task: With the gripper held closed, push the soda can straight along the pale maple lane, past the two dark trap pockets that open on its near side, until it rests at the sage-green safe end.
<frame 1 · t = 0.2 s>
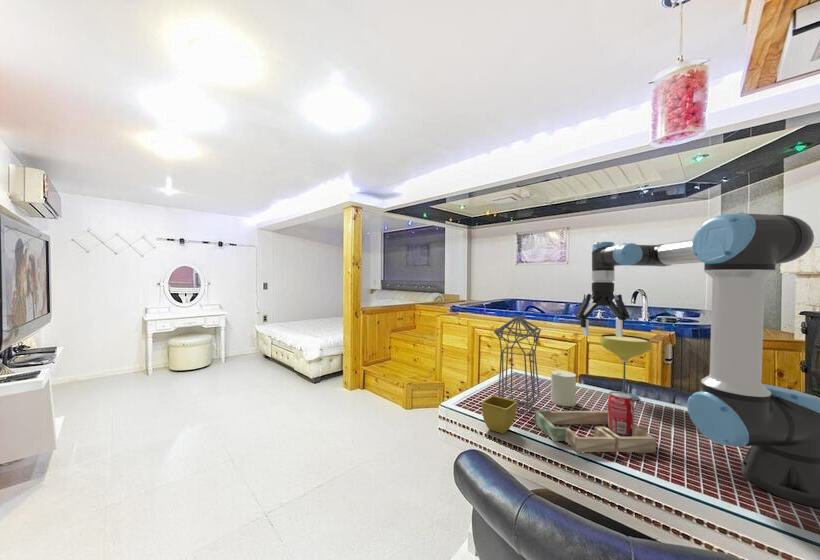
hand: (602, 336, 123), 27 cm above the table, tool pointing down, fingers open, 13 cm apart
soda can: (620, 432, 102), on the table
geometric lantern: (516, 407, 121), on the table
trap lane: (589, 431, 102), on the table
cocktail glass: (624, 396, 134), on the table
flower pot: (498, 430, 102), on the table
can: (563, 402, 127), on the table
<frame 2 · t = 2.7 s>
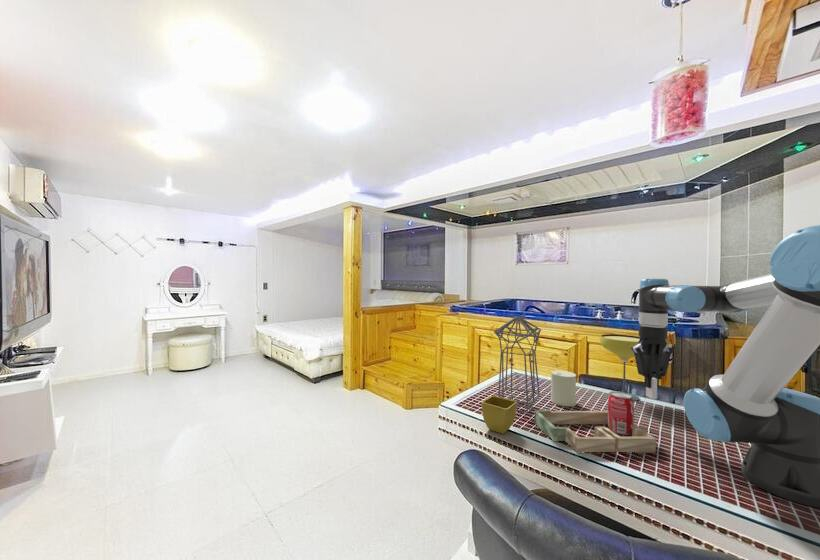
hand: (651, 397, 103), 11 cm above the table, tool pointing down, fingers closed
nothing on the table moved.
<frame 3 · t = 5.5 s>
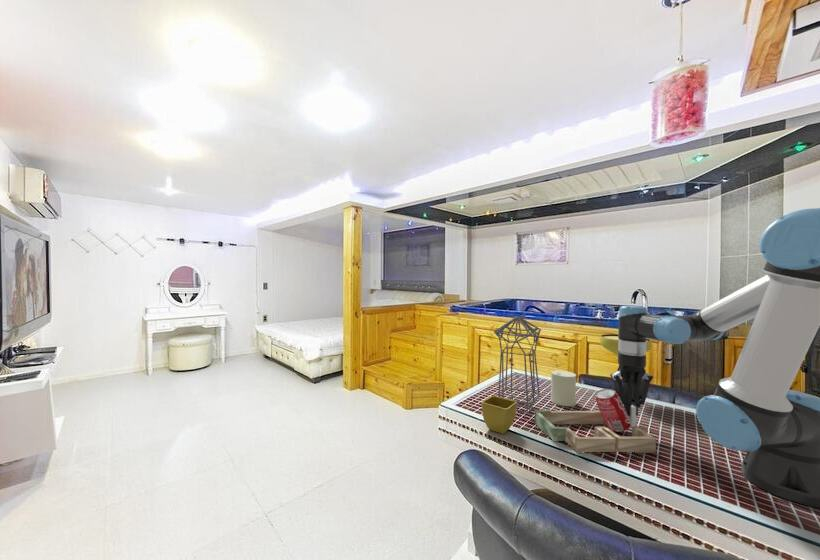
hand: (630, 425, 103), 2 cm above the table, tool pointing down, fingers closed
soda can: (620, 427, 102), point 1 cm above the table, touching gripper
everything else where it was.
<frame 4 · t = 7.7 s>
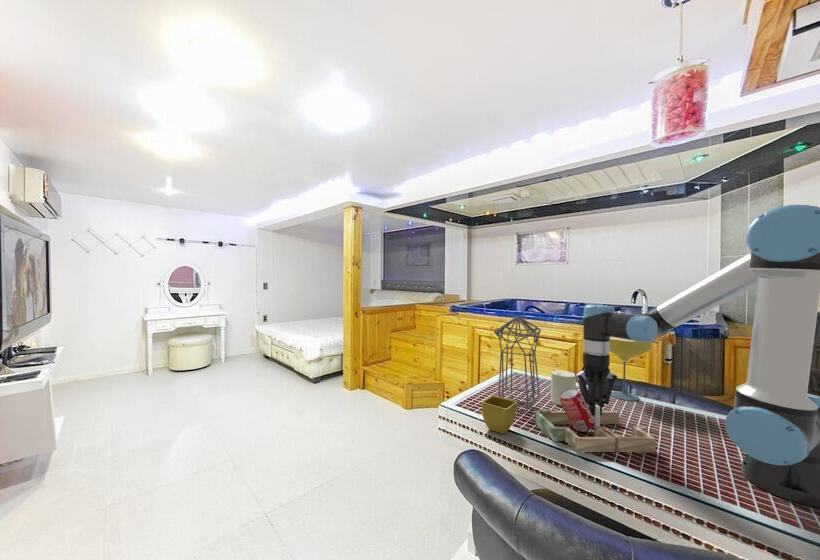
hand: (595, 425, 102), 2 cm above the table, tool pointing down, fingers closed
soda can: (585, 427, 102), point 1 cm above the table, touching gripper
everything else where it was.
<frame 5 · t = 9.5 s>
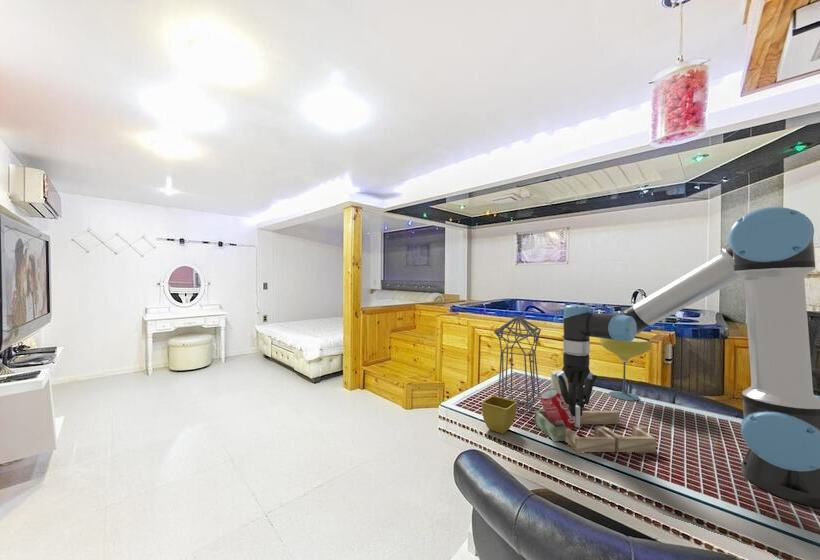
hand: (575, 425, 102), 2 cm above the table, tool pointing down, fingers closed
soda can: (565, 427, 102), point 1 cm above the table, touching gripper
everything else where it was.
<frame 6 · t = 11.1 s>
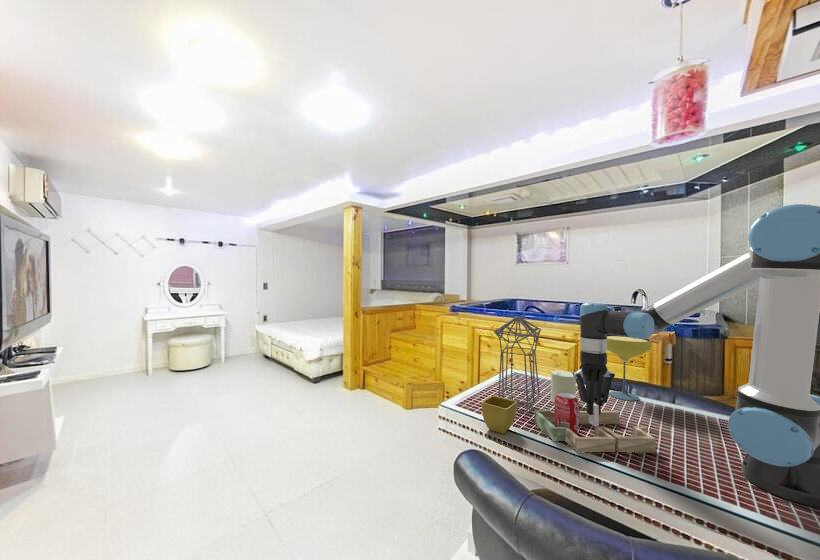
hand: (593, 424, 101), 3 cm above the table, tool pointing down, fingers closed
soda can: (566, 432, 101), on the table
everything else where it was.
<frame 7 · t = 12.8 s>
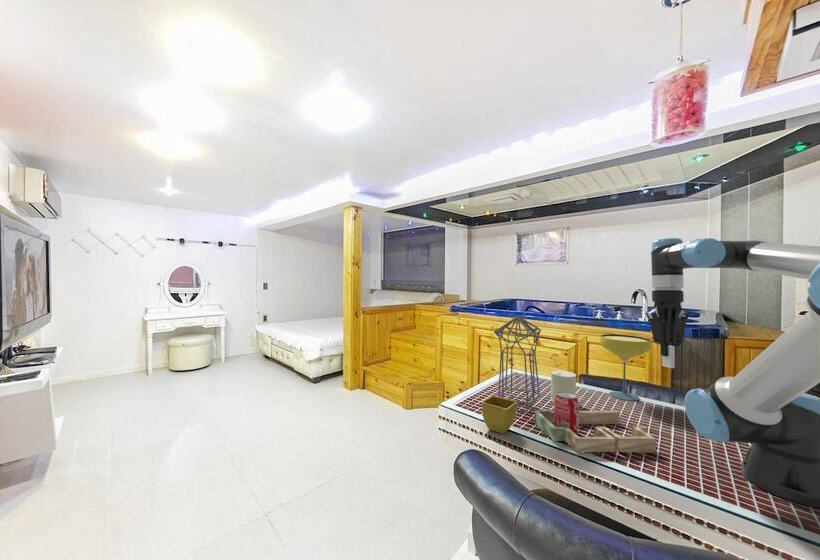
hand: (668, 366, 96), 23 cm above the table, tool pointing down, fingers closed
nothing on the table moved.
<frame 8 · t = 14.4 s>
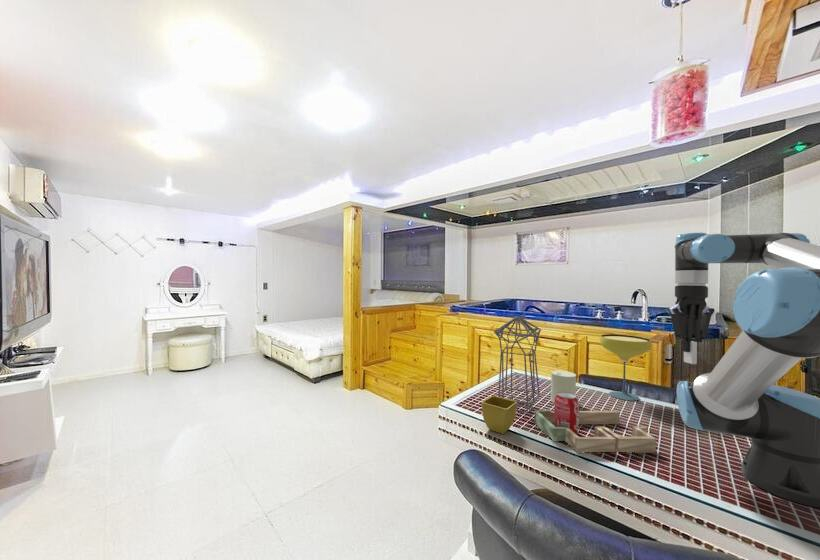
hand: (690, 362, 95), 24 cm above the table, tool pointing down, fingers closed
nothing on the table moved.
at the end: soda can inside the target area (2.6 cm from its centre), on the table; soda can tilted 0°; soda can moved 18.1 cm from its start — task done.
